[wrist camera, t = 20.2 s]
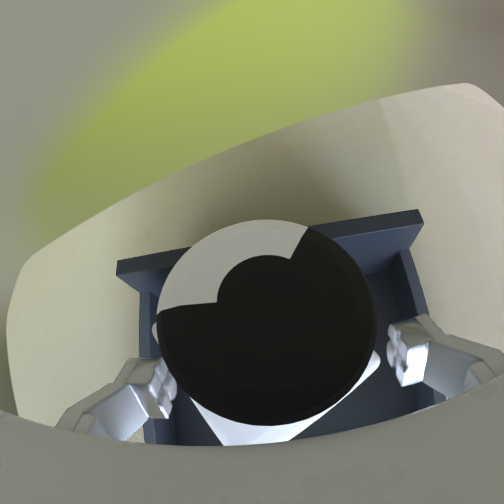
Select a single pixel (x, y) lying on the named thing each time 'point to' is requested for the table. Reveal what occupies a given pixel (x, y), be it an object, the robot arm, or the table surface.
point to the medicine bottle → (266, 329)
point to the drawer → (388, 311)
